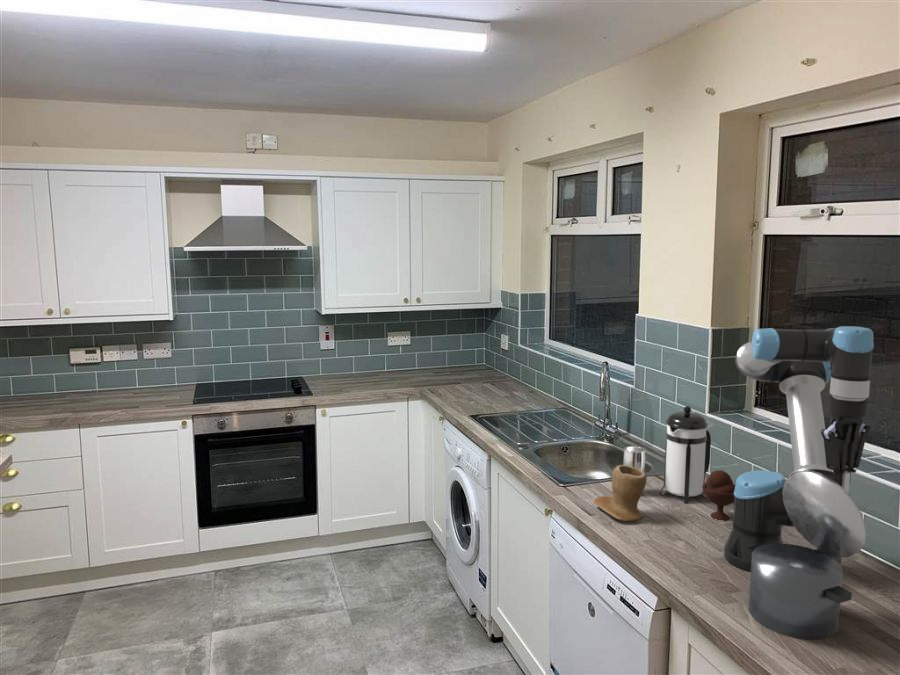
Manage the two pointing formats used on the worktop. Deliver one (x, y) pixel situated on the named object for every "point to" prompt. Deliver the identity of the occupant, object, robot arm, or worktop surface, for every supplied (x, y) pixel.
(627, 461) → the silver metal cylinder
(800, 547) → the pressure cooker pot
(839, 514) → the pot lid
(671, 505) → the worktop surface
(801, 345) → the robot arm
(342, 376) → the worktop surface
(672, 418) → the coffee press
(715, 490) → the ice cream bowl
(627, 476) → the tan flared hollow piece
